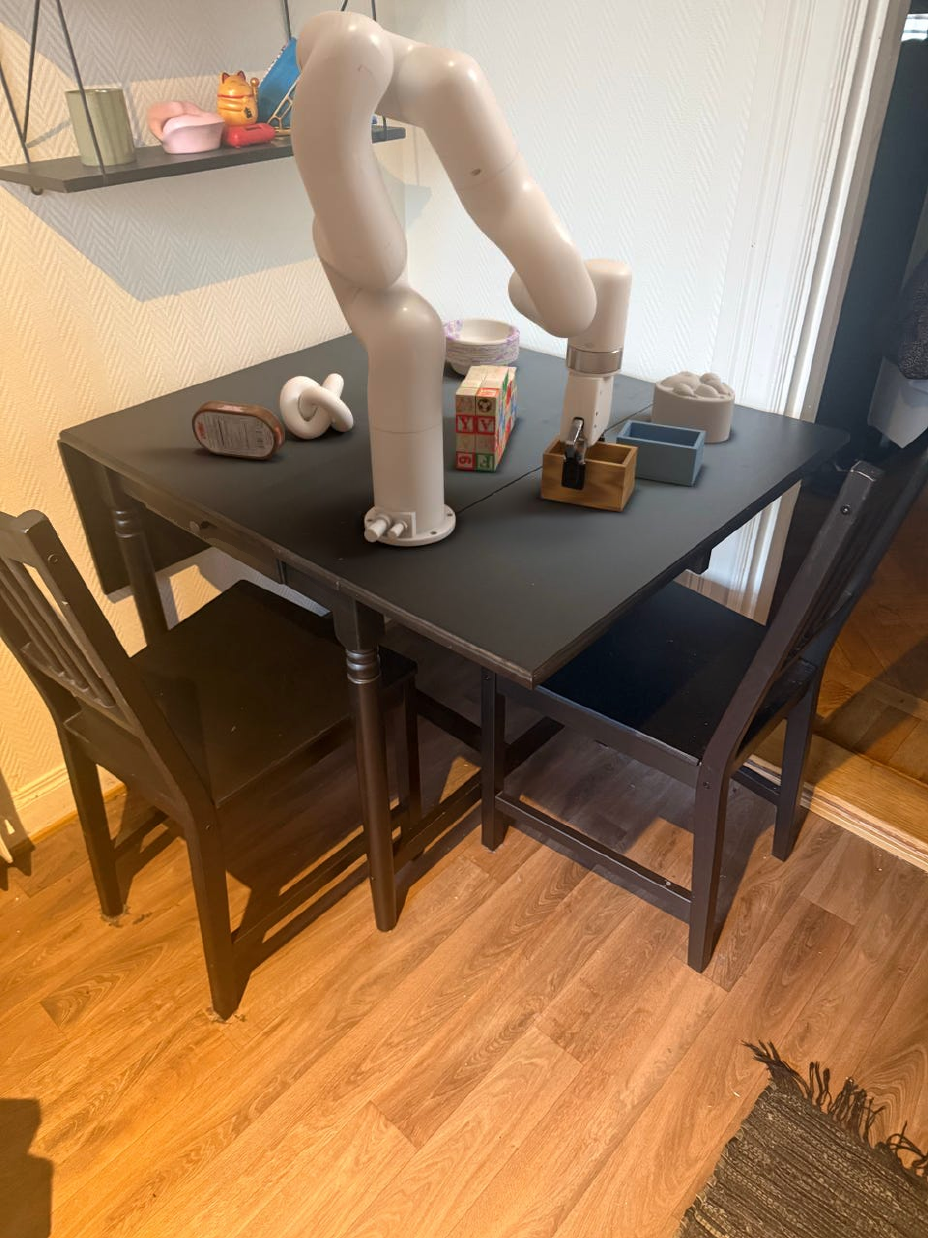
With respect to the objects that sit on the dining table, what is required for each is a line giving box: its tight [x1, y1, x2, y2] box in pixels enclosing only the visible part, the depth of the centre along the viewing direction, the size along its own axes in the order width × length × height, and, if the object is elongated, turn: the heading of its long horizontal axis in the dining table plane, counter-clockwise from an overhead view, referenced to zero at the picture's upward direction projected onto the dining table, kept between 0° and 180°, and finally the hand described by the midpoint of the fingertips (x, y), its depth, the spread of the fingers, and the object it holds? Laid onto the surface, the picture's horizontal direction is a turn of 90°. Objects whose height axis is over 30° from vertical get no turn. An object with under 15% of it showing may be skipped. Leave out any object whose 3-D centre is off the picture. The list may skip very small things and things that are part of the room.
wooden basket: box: [540, 434, 638, 513], centre depth 134 cm, size 12×7×7 cm, turn 68°
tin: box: [191, 400, 286, 461], centre depth 146 cm, size 15×3×8 cm, turn 74°
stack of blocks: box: [454, 365, 518, 473], centre depth 148 cm, size 21×6×12 cm, turn 168°
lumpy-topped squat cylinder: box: [650, 370, 736, 444], centre depth 153 cm, size 10×13×9 cm
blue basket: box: [615, 419, 706, 487], centre depth 141 cm, size 12×7×6 cm, turn 68°
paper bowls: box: [443, 317, 521, 377], centre depth 178 cm, size 15×15×8 cm
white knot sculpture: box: [279, 373, 354, 440], centre depth 154 cm, size 11×12×9 cm
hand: (582, 474), depth 134 cm, fingers open, 9 cm apart
